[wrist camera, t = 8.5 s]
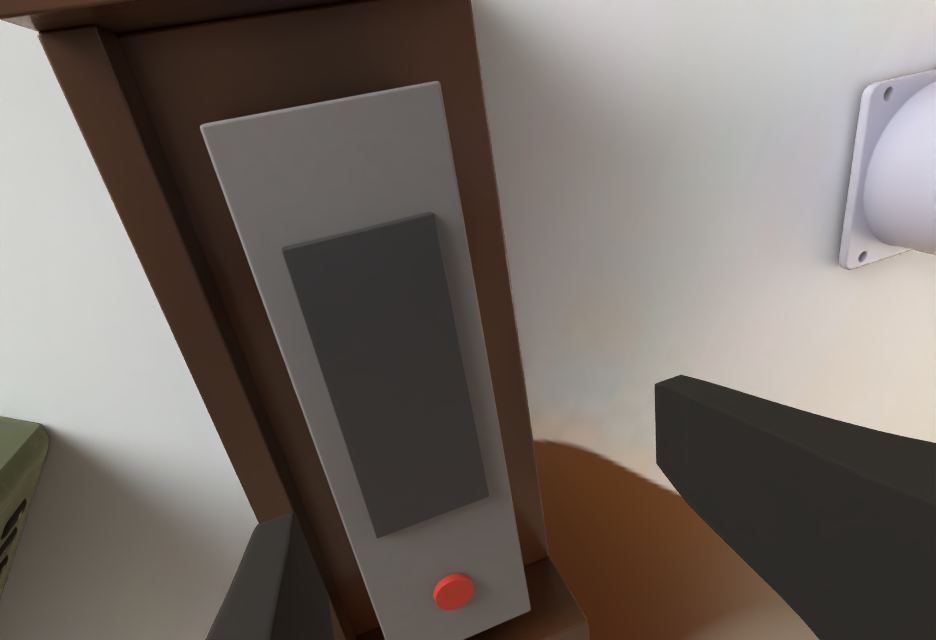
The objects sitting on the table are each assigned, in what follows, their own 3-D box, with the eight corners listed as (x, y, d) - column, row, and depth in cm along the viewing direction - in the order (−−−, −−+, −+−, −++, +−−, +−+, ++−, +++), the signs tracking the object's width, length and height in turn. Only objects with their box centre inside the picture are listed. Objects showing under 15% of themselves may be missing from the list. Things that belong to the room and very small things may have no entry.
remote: (407, 86, 13) (443, 79, 10) (496, 540, 20) (534, 617, 17) (218, 121, 12) (196, 125, 9) (379, 586, 19) (397, 677, 16)
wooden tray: (430, -44, 15) (510, -127, 10) (523, 526, 24) (590, 641, 19) (85, 1, 13) (-50, -74, 8) (331, 602, 22) (347, 754, 17)
